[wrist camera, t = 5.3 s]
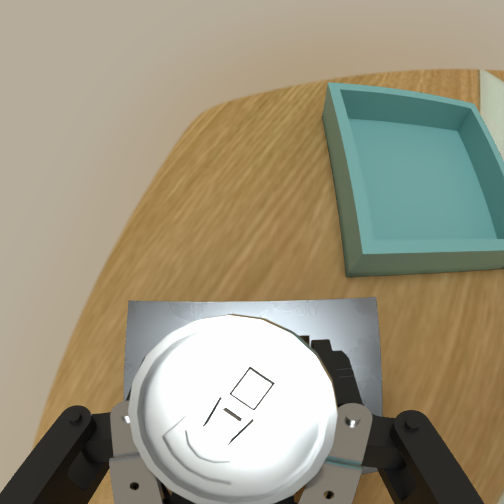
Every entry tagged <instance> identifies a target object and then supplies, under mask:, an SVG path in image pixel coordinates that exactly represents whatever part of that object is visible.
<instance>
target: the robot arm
mask: <svg viewBox="0 0 504 504" xmlns="http://www.w3.org/2000/svg"><path fill="white" fill-rule="evenodd" d="M311 348H312V349H314V350H315V351H316V352H317V353H318V355H319V357H320V359H321V360H322V362H323V364H324V366H325V367H326V369H327V371H328V373H329V374H330V376H331V378H332V380H333V385H334V390H335V395H336V401H337V406H338V416H337V423H336V429H335V435H334V441H333V446H332V448H331V450H330V452H329V454H328V455H327V457H326V459H325V461H324V463H323V464H322V466H321V468H320V470H319V471H318V473H317V474H316V475H315V476H314V477H313V478H312V479H311V480H310V481H309V482H307V485H306V487H305V489H304V492H303V494H302V496H301V498H300V501H299V503H296V502H294V496H290V497H287V498H285V499H283V500H281V501H278V502H276V503H274V504H352V502H353V499H354V495H355V492H356V489H357V486H358V482H359V479H360V475H361V471H362V466H365V467H373V468H377V470H378V472H379V474H380V476H381V478H382V480H383V482H384V484H385V486H386V488H387V490H388V492H389V494H390V496H391V498H392V500H393V502H394V504H484V503H483V501H482V499H481V498H480V496H479V495H478V493H477V491H476V490H475V488H474V487H473V485H472V484H471V482H470V480H469V479H468V477H467V476H466V474H465V473H464V471H463V470H462V468H461V467H460V465H459V464H458V462H457V461H456V459H455V458H454V456H453V455H452V453H451V452H450V450H449V449H448V447H447V446H446V444H445V443H444V441H443V440H442V438H441V437H440V435H439V434H438V432H437V431H436V429H435V428H434V427H433V425H432V424H431V422H430V421H429V419H428V418H427V417H426V416H425V415H424V414H423V413H421V412H419V411H415V410H407V411H404V412H402V413H400V414H399V415H398V416H397V417H396V418H388V417H381V416H377V415H374V414H372V413H371V412H370V410H369V409H368V408H366V407H365V406H364V405H363V403H362V399H361V396H360V392H359V389H358V386H357V382H356V379H355V377H354V372H353V369H352V366H351V362H350V359H349V357H348V356H347V355H346V354H345V353H344V352H343V351H342V350H339V351H333V350H332V347H331V343H330V340H329V339H321V340H311ZM145 357H146V356H145ZM145 357H144V358H143V361H144V359H145ZM143 361H142V363H143ZM142 363H141V365H142ZM141 365H140V366H141ZM131 388H132V386H131ZM130 395H131V389H130V391H129V394H128V396H127V398H126V401H123V402H120V403H119V404H117V405H116V406H115V407H114V408H113V409H112V411H111V412H109V413H101V414H91V413H90V411H89V410H88V409H87V408H86V407H84V406H78V405H76V406H71V407H69V408H67V409H66V410H64V412H63V413H62V414H61V415H60V416H59V418H58V419H57V420H56V421H55V423H54V424H53V425H52V426H51V428H50V429H49V430H48V431H47V433H46V434H45V435H44V436H43V438H42V439H41V440H40V442H39V443H38V444H37V445H36V447H35V448H34V449H33V451H32V452H31V453H30V455H29V456H28V457H27V458H26V460H25V461H24V462H23V464H22V465H21V466H20V468H19V469H18V470H17V472H16V473H15V474H14V476H13V477H12V478H11V480H10V481H9V482H8V484H7V485H6V486H5V488H4V489H3V490H2V492H1V493H0V504H88V502H89V501H90V499H91V497H92V496H93V494H94V492H95V491H96V489H97V488H98V486H99V484H100V483H101V481H102V479H103V478H104V476H105V474H106V473H107V471H108V470H109V468H110V475H111V483H112V490H113V497H114V503H115V504H196V503H194V502H192V501H190V500H188V499H186V498H184V497H182V496H180V495H178V494H176V493H175V492H173V491H171V490H169V489H168V488H167V487H166V486H165V485H164V484H163V483H162V482H161V481H160V480H159V479H158V478H157V477H156V476H155V475H154V474H153V473H152V472H151V471H150V470H149V469H148V468H147V466H146V464H145V462H144V461H143V459H142V457H141V455H140V453H139V451H138V449H137V447H136V445H135V443H134V441H133V437H132V432H131V426H130V420H129V414H128V408H129V401H130Z"/></svg>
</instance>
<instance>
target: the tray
mask: <svg viewBox="0 0 504 504" xmlns="http://www.w3.org/2000/svg"><path fill="white" fill-rule="evenodd" d="M322 120H323V124H324V129H325V135H326V140H327V145H328V151H329V156H330V162H331V168H332V174H333V180H334V186H335V192H336V199H337V206H338V213H339V220H340V228H341V236H342V244H343V252H344V261H345V271H346V277H362V276H386V275H407V274H426V273H444V272H461V271H476V270H491V269H504V162H503V159H502V157H501V155H500V153H499V151H498V149H497V146H496V144H495V142H494V140H493V138H492V136H491V134H490V132H489V130H488V128H487V126H486V125H485V123H484V121H483V119H482V117H481V115H480V113H479V112H478V110H477V108H476V106H475V105H474V104H473V103H468V102H464V101H460V100H455V99H451V98H446V97H441V96H436V95H431V94H425V93H419V92H413V91H407V90H400V89H393V88H385V87H376V86H367V85H356V84H343V83H328V85H327V91H326V97H325V104H324V110H323V116H322Z"/></svg>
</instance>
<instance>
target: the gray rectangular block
mask: <svg viewBox="0 0 504 504" xmlns="http://www.w3.org/2000/svg"><path fill="white" fill-rule="evenodd" d="M229 314H238V315H245V316H253V317H260V318H265V319H268V320H270V321H272V322H274V323H276V324H278V325H281V326H283V327H285V328H287V329H289V330H292V331H294V332H295V333H296V334H297V335H298V336H299V337H300V338H301V339H302V340H304V341H305V342H306V343H307V344H308V345H309V346H310V347H311V340H321V339H329V340H330V343H331V347H332V350H333V351H339V350H342V351H343V352H344V353H345V354H346V355H347V356H348V357H349V359H350V362H351V366H352V369H353V372H354V377H355V379H356V382H357V386H358V389H359V392H360V396H361V399H362V403H363V405H364V406H365V407H366V408H368V409H369V410H370V412H371V413H372V414H374V415H377V416H381V417H382V371H381V351H380V336H379V323H378V311H377V301H376V297H369V298H350V299H328V300H301V301H260V302H163V301H129V304H128V316H127V329H126V345H125V366H124V401H126V398H127V396H128V394H129V391H130V389H131V386H132V382H133V380H134V378H135V376H136V374H137V372H138V370H139V368H140V365H141V363H142V361H143V358H144V357H145V356H146V355H147V354H148V353H149V352H150V351H151V350H152V349H153V348H154V347H155V346H157V345H158V344H159V343H160V342H161V341H162V340H163V339H164V338H165V337H166V336H167V335H168V334H170V333H172V332H174V331H176V330H178V329H180V328H182V327H184V326H186V325H188V324H190V323H192V322H194V321H196V320H201V319H203V318H210V317H216V316H223V315H229ZM377 471H378V470H377V468H373V467H365V466H362V471H361V474H366V473H372V472H377Z"/></svg>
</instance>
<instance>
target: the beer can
mask: <svg viewBox="0 0 504 504" xmlns="http://www.w3.org/2000/svg"><path fill="white" fill-rule="evenodd" d="M128 414H129V420H130V426H131V432H132V437H133V441H134V443H135V445H136V447H137V449H138V451H139V453H140V455H141V457H142V459H143V461H144V462H145V464H146V466H147V468H148V469H149V470H150V471H151V472H152V473H153V474H154V475H155V476H156V477H157V478H158V479H159V480H160V481H161V482H162V483H163V484H164V485H165V486H166V487H167V488H168V489H169V490H171V491H173V492H175V493H176V494H178V495H180V496H182V497H184V498H186V499H188V500H190V501H192V502H194V503H196V504H274V503H276V502H278V501H281V500H283V499H285V498H287V497H290V496H292V495H294V494H295V493H296V492H297V491H298V490H299V489H301V488H302V487H303V486H304V485H305V484H306V483H307V482H309V481H310V480H311V479H312V478H313V477H314V476H315V475H316V474H317V473H318V471H319V470H320V468H321V466H322V464H323V463H324V461H325V459H326V457H327V455H328V454H329V452H330V450H331V448H332V446H333V441H334V435H335V429H336V423H337V416H338V406H337V401H336V395H335V390H334V385H333V380H332V378H331V376H330V374H329V373H328V371H327V369H326V367H325V366H324V364H323V362H322V360H321V359H320V357H319V355H318V353H317V352H316V351H315V350H314V349H312V348H311V347H310V346H309V345H308V344H307V343H306V342H305V341H304V340H302V339H301V338H300V337H299V336H298V335H297V334H296V333H295V332H294V331H292V330H289V329H287V328H285V327H283V326H281V325H278V324H276V323H274V322H272V321H270V320H268V319H265V318H260V317H253V316H245V315H238V314H229V315H223V316H216V317H210V318H203V319H201V320H196V321H194V322H192V323H190V324H188V325H186V326H184V327H182V328H180V329H178V330H176V331H174V332H172V333H170V334H168V335H167V336H166V337H165V338H164V339H163V340H162V341H161V342H160V343H159V344H158V345H157V346H155V347H154V348H153V349H152V350H151V351H150V352H149V353H148V354H147V355H146V357H145V359H144V361H143V363H142V365H141V366H140V368H139V370H138V372H137V374H136V376H135V378H134V380H133V382H132V388H131V395H130V401H129V408H128Z"/></svg>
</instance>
